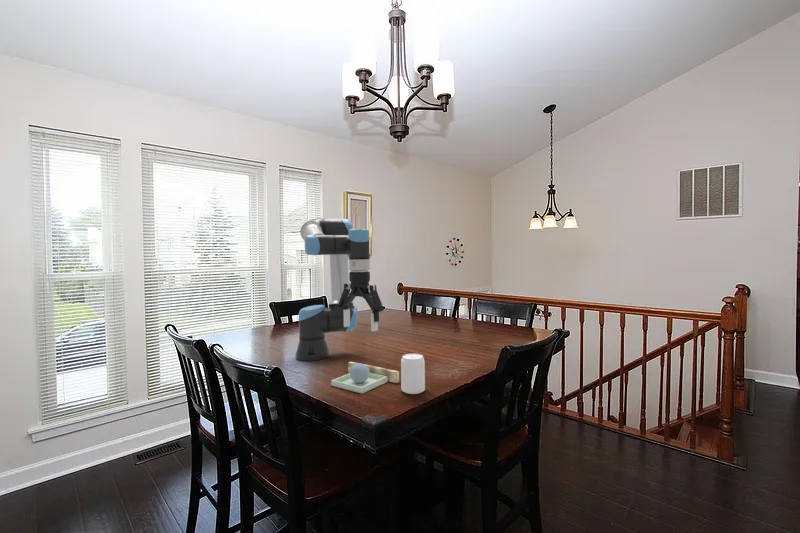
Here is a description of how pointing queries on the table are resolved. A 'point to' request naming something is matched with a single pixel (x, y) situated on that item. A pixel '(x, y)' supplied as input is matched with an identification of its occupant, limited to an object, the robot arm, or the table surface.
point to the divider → (379, 372)
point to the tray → (361, 388)
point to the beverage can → (412, 373)
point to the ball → (359, 373)
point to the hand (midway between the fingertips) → (360, 328)
